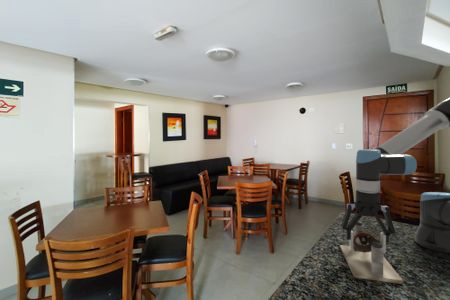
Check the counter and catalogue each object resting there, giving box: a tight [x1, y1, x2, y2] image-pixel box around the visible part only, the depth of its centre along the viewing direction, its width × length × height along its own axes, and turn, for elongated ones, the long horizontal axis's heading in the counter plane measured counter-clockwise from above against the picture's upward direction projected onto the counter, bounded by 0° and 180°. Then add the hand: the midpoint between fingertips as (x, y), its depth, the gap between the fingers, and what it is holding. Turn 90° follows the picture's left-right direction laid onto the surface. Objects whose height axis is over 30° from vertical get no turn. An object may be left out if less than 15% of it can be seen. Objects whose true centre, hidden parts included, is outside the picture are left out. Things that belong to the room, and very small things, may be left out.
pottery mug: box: [353, 230, 380, 253], centre depth 82 cm, size 12×10×8 cm
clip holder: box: [339, 220, 404, 285], centre depth 82 cm, size 14×22×12 cm, turn 164°
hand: (366, 249), depth 82 cm, fingers closed on pottery mug, 10 cm apart
